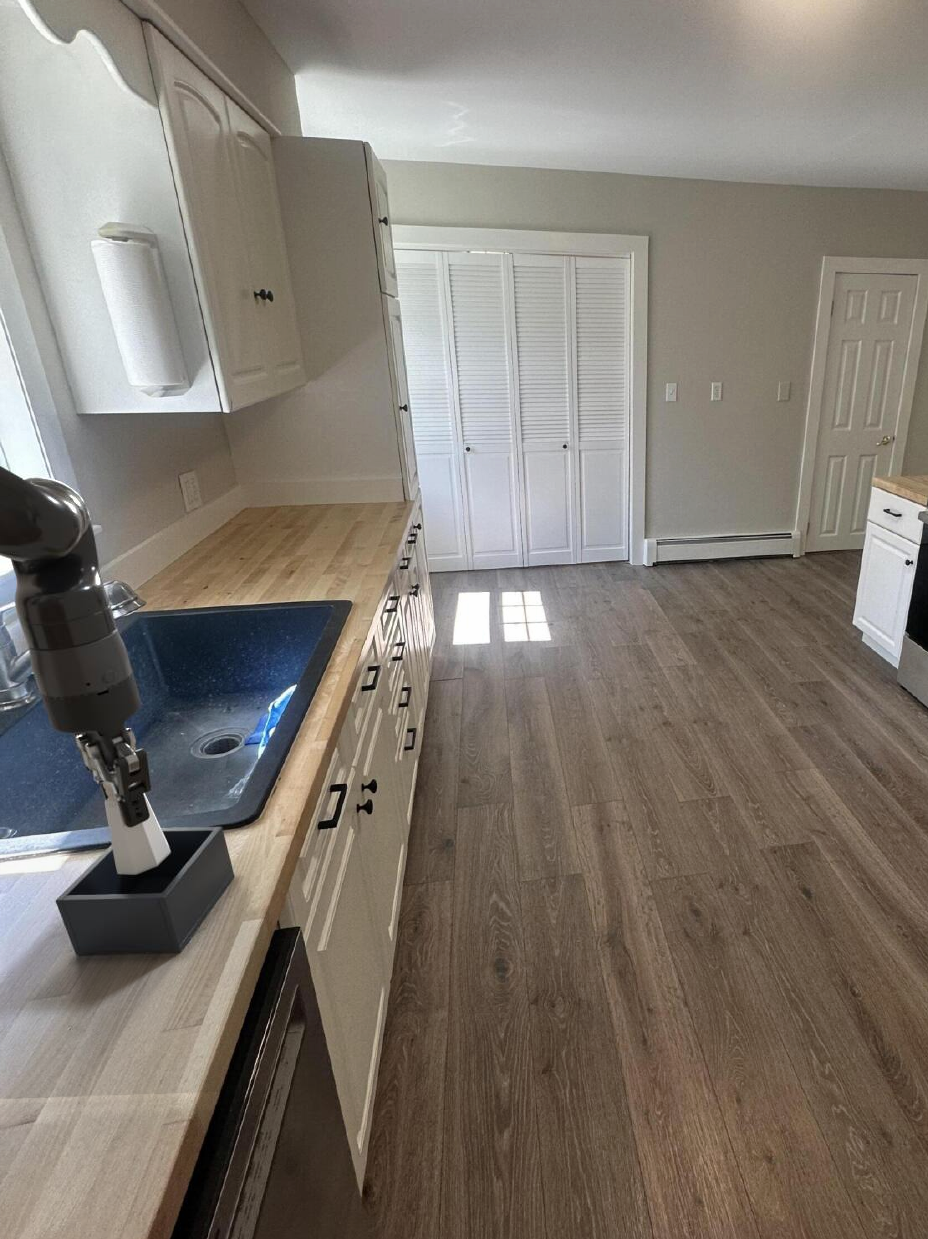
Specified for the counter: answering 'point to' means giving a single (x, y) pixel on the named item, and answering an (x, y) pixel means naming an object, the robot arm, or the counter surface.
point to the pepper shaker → (134, 839)
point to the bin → (148, 897)
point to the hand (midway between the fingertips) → (129, 814)
